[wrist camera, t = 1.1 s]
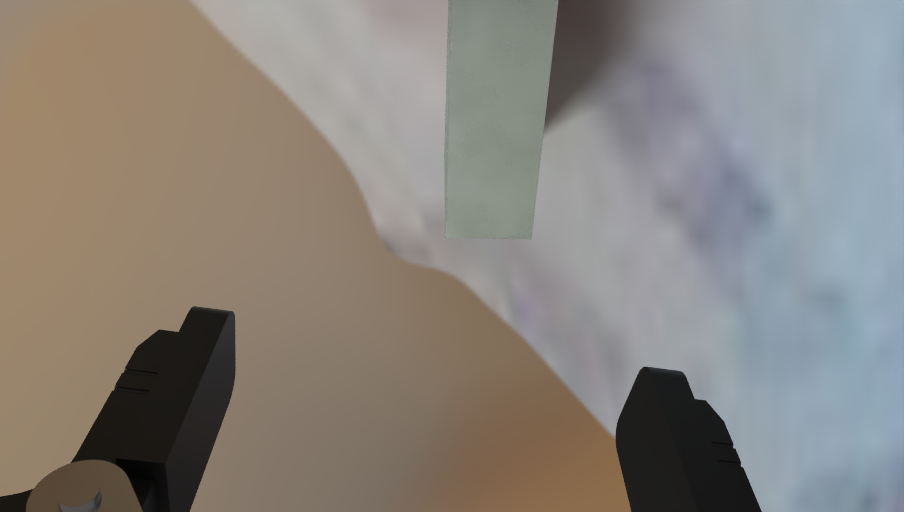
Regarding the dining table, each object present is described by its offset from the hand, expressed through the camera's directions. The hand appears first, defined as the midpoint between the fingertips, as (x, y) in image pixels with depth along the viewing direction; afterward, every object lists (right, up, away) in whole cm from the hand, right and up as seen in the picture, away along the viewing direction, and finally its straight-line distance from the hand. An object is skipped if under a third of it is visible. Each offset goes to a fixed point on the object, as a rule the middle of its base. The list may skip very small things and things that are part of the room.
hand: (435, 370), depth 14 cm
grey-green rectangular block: (+2, +13, +23) cm, 26 cm away
